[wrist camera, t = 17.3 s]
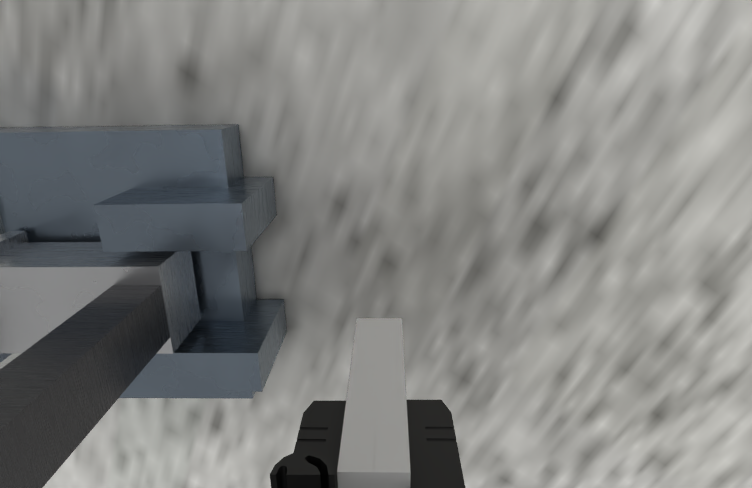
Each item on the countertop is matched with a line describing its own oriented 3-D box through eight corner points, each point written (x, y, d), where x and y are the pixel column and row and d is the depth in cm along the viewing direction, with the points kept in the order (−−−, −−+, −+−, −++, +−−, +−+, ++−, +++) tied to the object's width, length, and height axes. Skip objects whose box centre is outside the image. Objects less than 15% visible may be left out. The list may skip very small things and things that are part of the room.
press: (-234, 131, 25) (-401, 145, 19) (268, 123, 24) (234, 136, 18) (-135, 370, 29) (-249, 434, 24) (290, 371, 28) (266, 438, 23)
